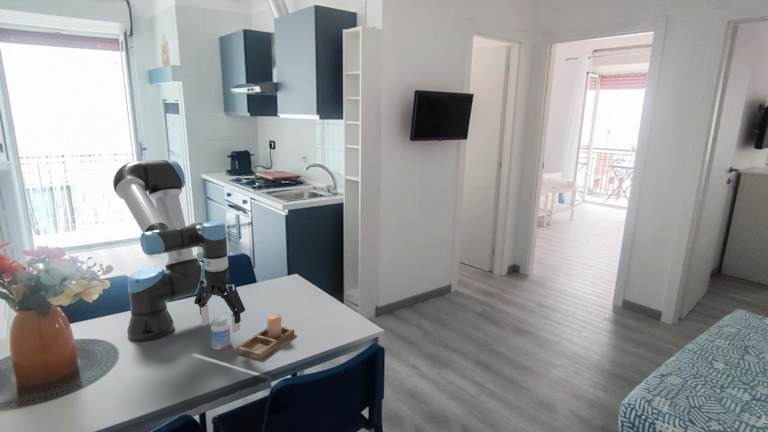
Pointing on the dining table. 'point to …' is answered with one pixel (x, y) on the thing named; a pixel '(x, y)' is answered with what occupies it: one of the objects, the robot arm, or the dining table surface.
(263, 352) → the rack
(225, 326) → the pill bottle
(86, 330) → the dining table surface
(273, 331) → the peach capsule shape
